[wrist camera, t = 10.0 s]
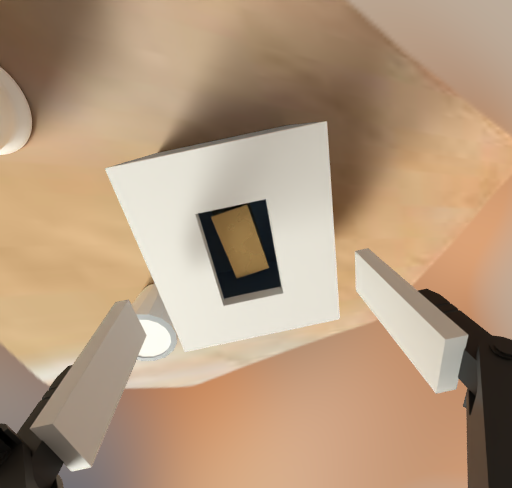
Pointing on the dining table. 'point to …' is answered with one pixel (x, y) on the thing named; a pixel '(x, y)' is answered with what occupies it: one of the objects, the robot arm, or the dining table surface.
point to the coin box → (210, 246)
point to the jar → (13, 115)
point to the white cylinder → (154, 325)
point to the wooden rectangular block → (240, 239)
